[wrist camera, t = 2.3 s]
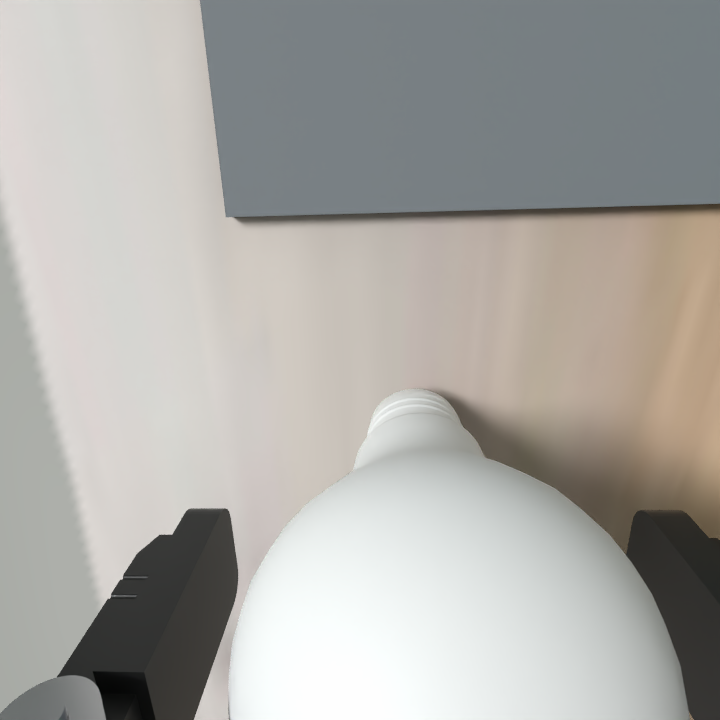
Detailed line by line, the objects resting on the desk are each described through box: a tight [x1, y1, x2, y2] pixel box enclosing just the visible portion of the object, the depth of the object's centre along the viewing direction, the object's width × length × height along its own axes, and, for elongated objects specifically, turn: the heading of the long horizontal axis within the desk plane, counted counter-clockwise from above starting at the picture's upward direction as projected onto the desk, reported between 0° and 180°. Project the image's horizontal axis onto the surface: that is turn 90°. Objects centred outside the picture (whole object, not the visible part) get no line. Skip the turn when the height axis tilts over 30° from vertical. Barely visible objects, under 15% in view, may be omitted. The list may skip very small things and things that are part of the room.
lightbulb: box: [229, 389, 690, 720], centre depth 10 cm, size 6×6×11 cm
